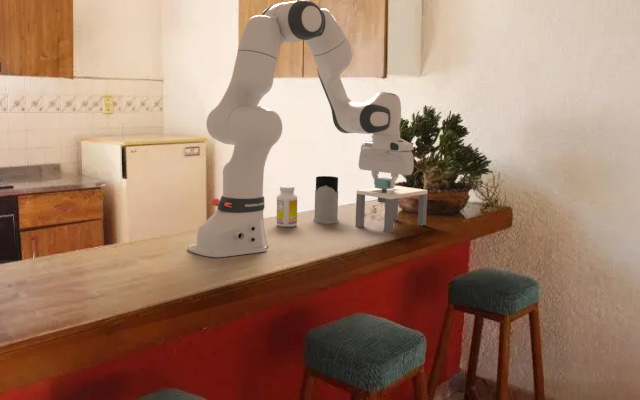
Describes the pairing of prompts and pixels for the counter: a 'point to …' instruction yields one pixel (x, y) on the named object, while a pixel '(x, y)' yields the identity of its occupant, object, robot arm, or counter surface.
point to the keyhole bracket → (391, 204)
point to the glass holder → (326, 200)
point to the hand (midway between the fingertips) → (384, 186)
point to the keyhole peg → (382, 186)
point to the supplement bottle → (287, 207)
